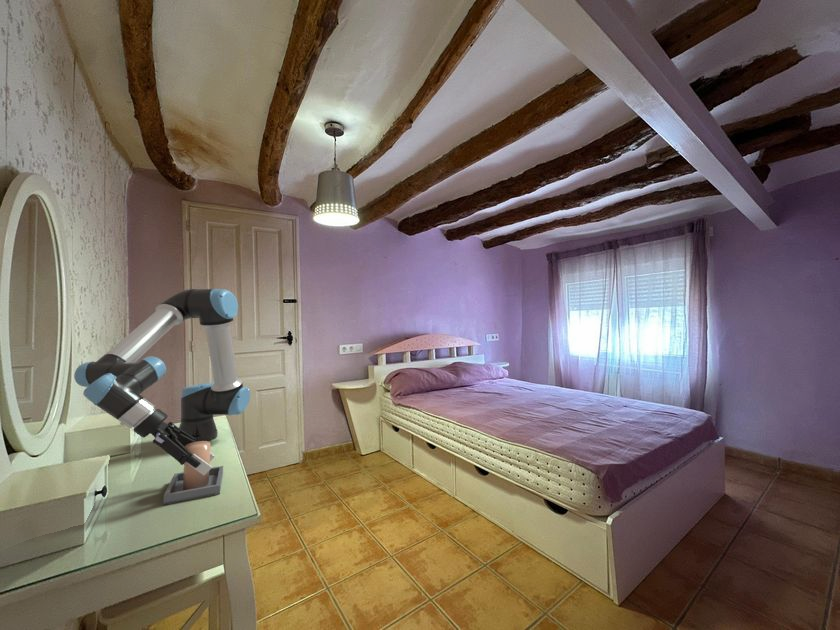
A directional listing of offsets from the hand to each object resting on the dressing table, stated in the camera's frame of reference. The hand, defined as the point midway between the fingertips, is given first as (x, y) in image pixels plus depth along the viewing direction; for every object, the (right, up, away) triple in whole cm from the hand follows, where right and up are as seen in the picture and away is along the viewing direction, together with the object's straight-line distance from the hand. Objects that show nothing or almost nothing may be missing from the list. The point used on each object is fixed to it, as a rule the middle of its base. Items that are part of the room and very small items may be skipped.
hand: (209, 465), depth 101 cm
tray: (-3, -6, -2) cm, 7 cm away
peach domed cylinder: (-3, -5, -2) cm, 6 cm away
